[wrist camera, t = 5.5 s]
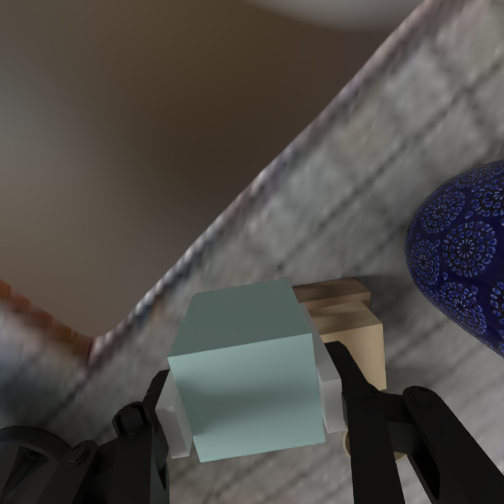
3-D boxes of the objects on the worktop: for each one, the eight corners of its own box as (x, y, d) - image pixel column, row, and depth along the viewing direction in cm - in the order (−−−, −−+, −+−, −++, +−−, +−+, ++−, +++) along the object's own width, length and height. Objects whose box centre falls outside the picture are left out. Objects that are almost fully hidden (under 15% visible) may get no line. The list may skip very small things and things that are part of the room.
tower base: (287, 350, 38) (294, 376, 33) (278, 287, 35) (284, 305, 30) (356, 339, 38) (373, 363, 33) (352, 275, 35) (370, 291, 30)
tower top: (302, 369, 33) (312, 402, 28) (292, 313, 30) (301, 338, 26) (365, 357, 32) (386, 388, 28) (360, 300, 30) (382, 323, 25)
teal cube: (214, 371, 18) (200, 462, 12) (194, 294, 16) (167, 357, 11) (299, 357, 18) (325, 442, 12) (287, 277, 16) (311, 332, 11)
